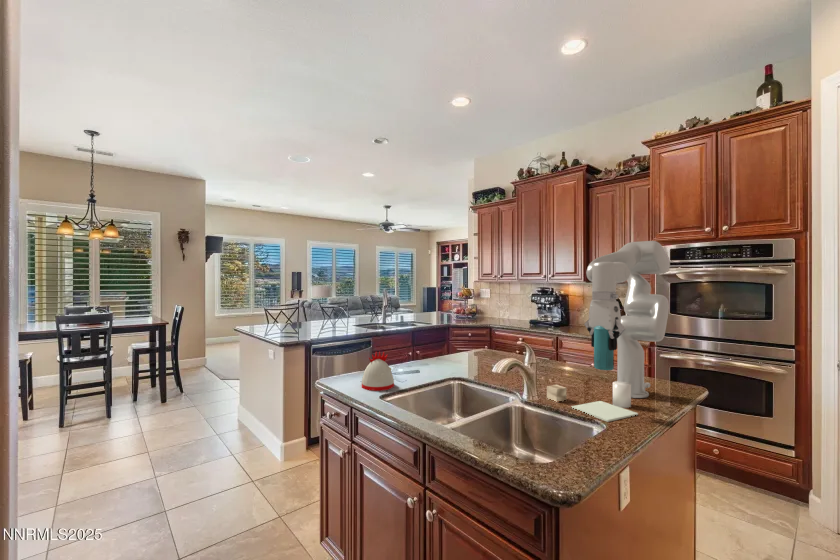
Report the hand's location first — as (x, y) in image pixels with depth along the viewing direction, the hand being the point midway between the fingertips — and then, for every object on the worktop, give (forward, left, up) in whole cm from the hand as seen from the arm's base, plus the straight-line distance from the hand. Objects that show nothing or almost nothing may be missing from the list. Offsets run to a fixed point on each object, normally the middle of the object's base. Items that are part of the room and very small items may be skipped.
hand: (603, 347), depth 134 cm
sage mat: (0, 0, -22) cm, 22 cm away
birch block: (+5, -17, -22) cm, 29 cm away
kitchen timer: (+61, -64, -23) cm, 91 cm away
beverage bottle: (0, 0, -9) cm, 9 cm away
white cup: (-12, -2, -22) cm, 25 cm away
